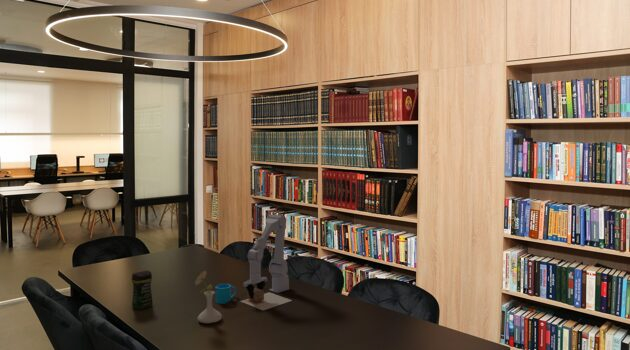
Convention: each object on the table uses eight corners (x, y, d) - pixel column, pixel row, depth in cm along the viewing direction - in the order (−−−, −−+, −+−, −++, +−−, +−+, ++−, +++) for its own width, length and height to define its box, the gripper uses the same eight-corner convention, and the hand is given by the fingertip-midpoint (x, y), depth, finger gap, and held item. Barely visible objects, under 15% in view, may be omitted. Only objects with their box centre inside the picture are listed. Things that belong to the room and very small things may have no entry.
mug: (220, 304, 240) (220, 289, 239) (213, 300, 246) (212, 285, 246) (240, 299, 248) (240, 285, 247) (232, 295, 254) (232, 281, 253)
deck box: (264, 299, 243) (263, 290, 243) (256, 302, 239) (256, 292, 239) (254, 296, 248) (254, 287, 248) (247, 298, 245) (247, 289, 245)
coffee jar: (137, 311, 231) (136, 275, 230) (130, 307, 236) (128, 272, 235) (155, 306, 238) (154, 271, 237) (147, 302, 243) (146, 268, 242)
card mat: (269, 293, 258) (269, 292, 258) (292, 301, 245) (292, 300, 245) (240, 302, 244) (240, 301, 243) (263, 311, 230) (263, 310, 230)
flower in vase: (212, 314, 227) (211, 264, 225) (227, 320, 219) (226, 268, 218) (189, 322, 217) (188, 270, 215) (204, 328, 209) (203, 275, 207)
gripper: (261, 267, 251) (261, 291, 252) (239, 273, 240) (239, 298, 241) (269, 270, 246) (269, 294, 247) (247, 275, 235) (248, 301, 237)
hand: (255, 296), depth 244 cm, fingers closed on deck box, 5 cm apart
